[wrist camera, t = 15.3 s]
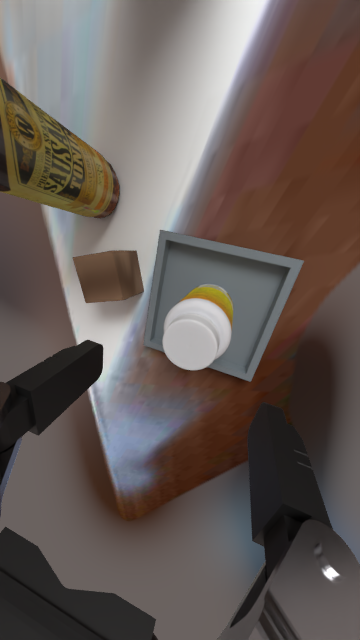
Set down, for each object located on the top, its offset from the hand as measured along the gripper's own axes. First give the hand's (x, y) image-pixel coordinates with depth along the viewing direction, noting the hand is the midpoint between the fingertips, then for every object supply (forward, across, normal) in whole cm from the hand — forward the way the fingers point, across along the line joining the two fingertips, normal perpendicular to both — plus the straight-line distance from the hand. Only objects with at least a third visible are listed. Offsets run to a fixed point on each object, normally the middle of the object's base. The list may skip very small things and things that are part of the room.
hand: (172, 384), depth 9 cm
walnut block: (+15, +12, 0) cm, 19 cm away
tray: (+15, 0, 0) cm, 15 cm away
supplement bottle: (+15, 0, 0) cm, 15 cm away
